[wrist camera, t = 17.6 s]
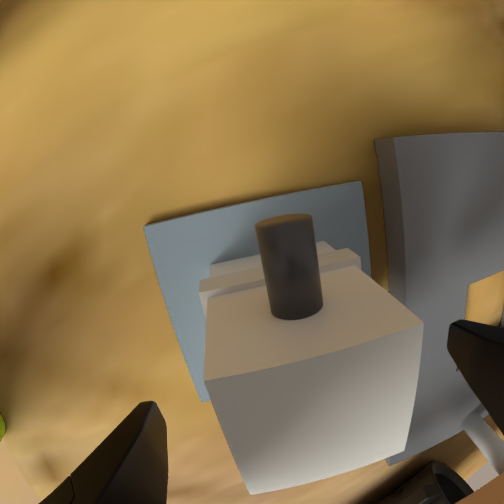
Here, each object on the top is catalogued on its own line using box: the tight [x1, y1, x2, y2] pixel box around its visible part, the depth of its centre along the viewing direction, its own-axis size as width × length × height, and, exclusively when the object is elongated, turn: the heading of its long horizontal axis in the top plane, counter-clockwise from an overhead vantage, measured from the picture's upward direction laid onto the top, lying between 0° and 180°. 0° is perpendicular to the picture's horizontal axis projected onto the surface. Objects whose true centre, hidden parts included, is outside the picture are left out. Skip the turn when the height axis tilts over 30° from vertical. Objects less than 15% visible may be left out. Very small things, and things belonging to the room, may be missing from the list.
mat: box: [143, 181, 371, 402], centre depth 12 cm, size 8×8×1 cm
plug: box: [199, 214, 424, 495], centre depth 9 cm, size 5×6×6 cm
